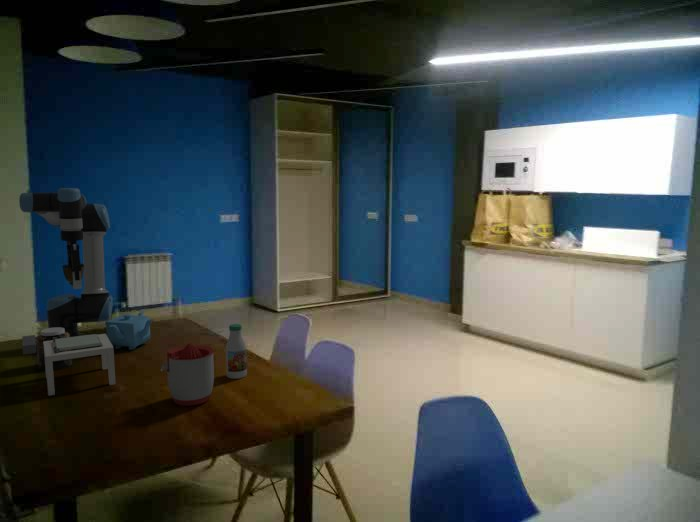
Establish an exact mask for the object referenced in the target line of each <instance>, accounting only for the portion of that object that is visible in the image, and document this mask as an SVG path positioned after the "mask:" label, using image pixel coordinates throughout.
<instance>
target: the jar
mask: <svg viewBox="0 0 700 522" xmlns="http://www.w3.org/2000/svg"><path fill="white" fill-rule="evenodd" d="M54 337H57V339H60V338H68V337H70V335H69V333H67V332H65V328H62V327H54V328H48V327H47V328H44V329H42V330H40V334H39V335H37V337H36V352H37V353H36V355H37V367H38V370H41V371H45V358H44V345H43V341H51V340H53V338H54ZM55 348H56V347H54V351H55ZM67 351H72V349H71V350H63V351H59V352H67ZM52 362H53V371H56V370H61V369H64V368H68V367H70V366H72V365H73V360H72V359H66V360H59V361H52Z"/></svg>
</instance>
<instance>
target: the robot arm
mask: <svg viewBox="0 0 700 522" xmlns="http://www.w3.org/2000/svg"><path fill="white" fill-rule="evenodd" d="M18 199H19V208H20V211H22V213H30V214H31V213H36V214H37V215H39V216H41V217H42V218H44V220H45V221H46V223H48V224H50V225H51V226H54V227H57V228H60V232H59V233H60V240H61V241H62V242H66V253H67V264H69V265H70V264H71V263H72V268H73V269H72V270H71V272H72V274H73V286H72V287H73V290H78V289H83V291H82V292H80V297H77V296H76V294H74V293H73V294H63V295H62V294H61V295H58V296H57V295H56V296H54V297H51V298H49V299H48V300H47V302H46V314H47V315H46V316H47V326H48V327H47V328H54V327H62V328H65V332H67V333H69V335H70V337H76V336H82V335H81V332H80V331H79V327H78V325H79V324H83V323H84V324H85V323H100V322H106V321H107V320H111V316H112V312H113V305H114V303H113V302H114V301H113V300H114V299H113V296H112V295H109V294H110V292H109V290H108V289H106V282H105V278H106V277H105V276H106V275H105V256H104V255H105V254H104V251H105V250H104V236H106V234H108V233H107V230H109V229H110V228H111V222H110V217H109V216H110V215H109V213H108V209H107V206H106V205H105V204H101V203H87V199H86V197H85V195H84V194H82V193H81V190H80V189H79V188H78V187H64V188H63V187H60V188H59V189H57V192H31V191H30V192H22V193H20V195H19V198H18ZM77 241H82V258H83V259H82V260H83V263H81V259H80V245H79V243H78V242H77ZM80 263H81V264H83V265H84V274H83V281H82V280H81V264H80ZM82 283H84V285H83V284H82ZM82 285H83V286H82Z"/></svg>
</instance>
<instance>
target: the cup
mask: <svg viewBox="0 0 700 522" xmlns="http://www.w3.org/2000/svg"><path fill="white" fill-rule="evenodd" d="M80 264H81V281H82V279H84V264H83V263H81V262H80ZM61 267H62V271H63V272H62V273H63V277H64V279H65V280H66V281H67V282H68V284H69V286H71V287H73V274H72V272H71V270H72V269H73V268H72V263H71V264H70V265H69V264H68V263H67V264H63V265H61Z"/></svg>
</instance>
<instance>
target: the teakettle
mask: <svg viewBox="0 0 700 522" xmlns="http://www.w3.org/2000/svg"><path fill="white" fill-rule="evenodd" d="M144 313H145V311H144V310H142V311H140V312H139V313H138V314H137V315H133V314H131V313H126V314H125V313H124V314H121V315H119V316H117V317H114V318H112V319H111V318H110V319H109V320H107V321H104V322H105V330H106V335H107V337H108V339H109V340H110V342H111V344H112V346H113V347H114V349H115V350H119V349H122V348H123V347H128V350H129V351H133V350H135V349H137V347H139V346H141V345H145V344H146V342H148V341H149V340H150V339H151V338H152V337H151V323H153V321H155V319H151V318H150V316H148V315H143V314H144Z"/></svg>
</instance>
